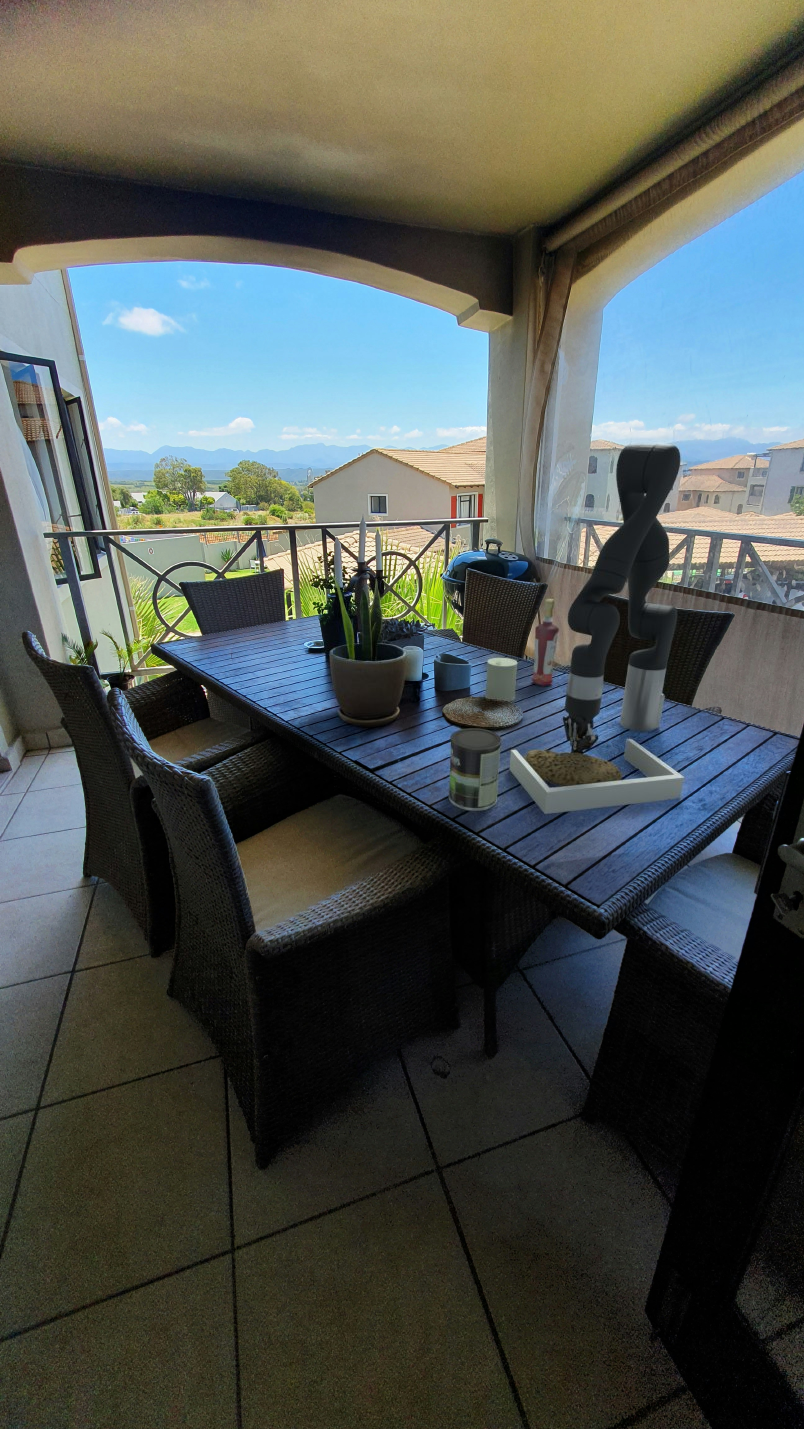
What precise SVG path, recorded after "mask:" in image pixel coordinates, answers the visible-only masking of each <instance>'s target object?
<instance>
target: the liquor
mask: <svg viewBox="0 0 804 1429" xmlns="http://www.w3.org/2000/svg"><path fill="white" fill-rule="evenodd" d="M544 601H545V602H544V606H545V607H544V608H545V610H544V614H543V620H542V623H540V624H537V625H536V626H535V633H534V634H535V636H534V660H533V663H534V664H533V677H532V678H531V681H532V682H533V683H534V685H537V686H539V687H547V686H549V685H551V684H552V683H553V682H554V680H553V672H554V665H555V664H554V663H555V657H556V651H557V645H558V639H559V630H560V628H559V627H558V625H556V624H554V623H553V616H554V615H553V609H554V604H555V599H553V598H546V599H545V600H544Z"/></svg>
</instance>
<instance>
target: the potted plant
mask: <svg viewBox="0 0 804 1429" xmlns="http://www.w3.org/2000/svg"><path fill="white" fill-rule="evenodd" d="M329 576H330V577H331V578H332V579H333V580H334V582H335V586H336V590H337V594H338V599H339V603H340V608H341V615H342V622H343V623H342V624H343V630H344V634H345V639H346V644H343V645H339V646H336V647H333V648H332V649H330V651H329V668H330V676H331V682H332V688H333V693H334V695H335V696H334V697H335V699H336V701H337V704H338V705H339V708H338V710H337V712H338V716H339V717H340V718H341V719H342V721H343V722H345V723H348V724H351V725H354V726H357V727H365V728H367V727H368V728H369V727H370V728H371V727H378V726H379V727H380V726H385V725H388V724H390V723H392V722H393V721H395V719H397V717H398V715H399V714H400V708H399V707H398V706H399V704H400V702H401V699H402V695H403V692H404V691H403V690H404V686H405V681H406V680H405V679H406V671H407V656H408V655H407V654H408V653H407V651H406V649H405V648H402V647H400V646H398V645H395V644H389V643H381V642H380V643H379V639H380V637H381V633H382V631H383V610H382V606H381V599H380V598H381V597H380V592H379V588H378V579H377V578H375V580H374V583H375V585H374V586H375V587H374V594H373V599H372V602H371V609H370V605H369V603H370V602H369V600H368V595H367V592H366V589H365V588H364V587H363V588H362V589H361V590H362V591H361V597H360V603H359V612H360V620H361V628H362V630H361V631H362V634H361V635H362V643H355V636H354V634H355V633H354V628H353V624H352V622H351V619H350V616H349V614H348V611H347V609H346V607H345V603H344V599H343V594H342V592H341V589H340V588H341V587H340V586H339V584H338V581H337V579H336V578H335V577H334V576H333V575H332V574H330V573H329Z"/></svg>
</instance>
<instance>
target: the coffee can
mask: <svg viewBox="0 0 804 1429" xmlns="http://www.w3.org/2000/svg"><path fill="white" fill-rule="evenodd" d="M501 745H502V737H501V736H500V735H499V734H498V733H496V732H495V731H492V730H488V729H485V728H479V727H478V728H477V727H469V728H462V729H459V730H456V731H454V732H453V733H451V734H450V757H449V758H450V760H449V762H450V763H449V786H448V787H449V788H448V790H449V791H448V799H449V802H450V803H451V804H452V805H453V806H455V807H456V808H458V809H461V810H465V811H469V812H480V811H481V812H482V811H485V810H489V809H491V808H492V807H494V806H495V805H496V804H497V801H498V786H499V785H498V784H499V783H498V782H499V773H500V772H499V771H500V758H501Z"/></svg>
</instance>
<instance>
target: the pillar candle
mask: <svg viewBox="0 0 804 1429" xmlns="http://www.w3.org/2000/svg"><path fill="white" fill-rule="evenodd" d="M486 663H487V665H486V669H487V670H486V683H485V685H486V687H485V695H484V696H485V699H487V698H488V699H497V700H504V701H508V702H507V703H509V702H510V703H511V702H512V701H514V700H515V699H516V682H517V670H518V669H517V668H518V661H517V660H515V659H513V658H509V657H493V658H489V659H487V661H486ZM488 699H487V700H488Z"/></svg>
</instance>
